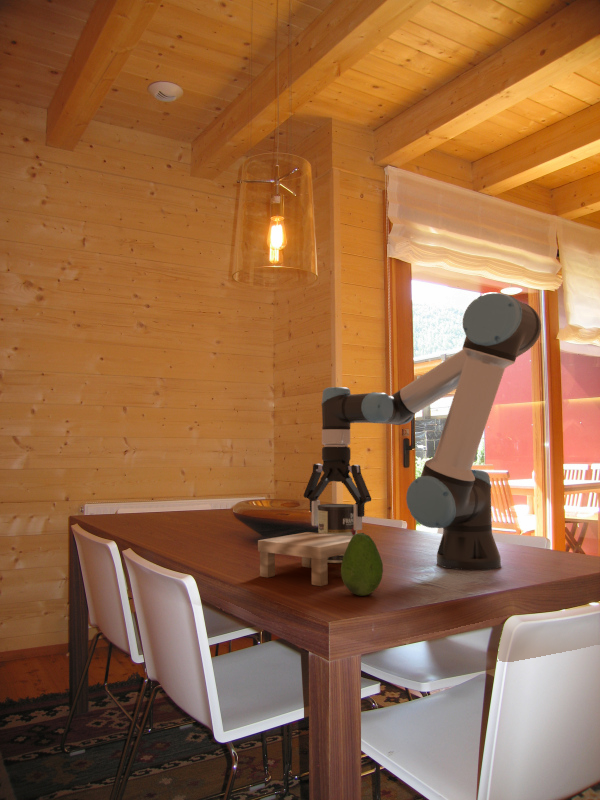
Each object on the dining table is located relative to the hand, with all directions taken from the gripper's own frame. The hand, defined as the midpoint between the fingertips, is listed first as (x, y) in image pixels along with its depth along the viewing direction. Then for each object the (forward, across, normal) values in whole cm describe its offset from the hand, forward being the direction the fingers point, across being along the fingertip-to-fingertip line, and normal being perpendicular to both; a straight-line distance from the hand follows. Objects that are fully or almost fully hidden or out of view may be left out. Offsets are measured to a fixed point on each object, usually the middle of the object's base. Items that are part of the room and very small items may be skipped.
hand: (336, 527), depth 160 cm
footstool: (+8, -8, +19) cm, 22 cm away
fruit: (+8, -28, +29) cm, 41 cm away
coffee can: (+8, -1, 0) cm, 9 cm away
